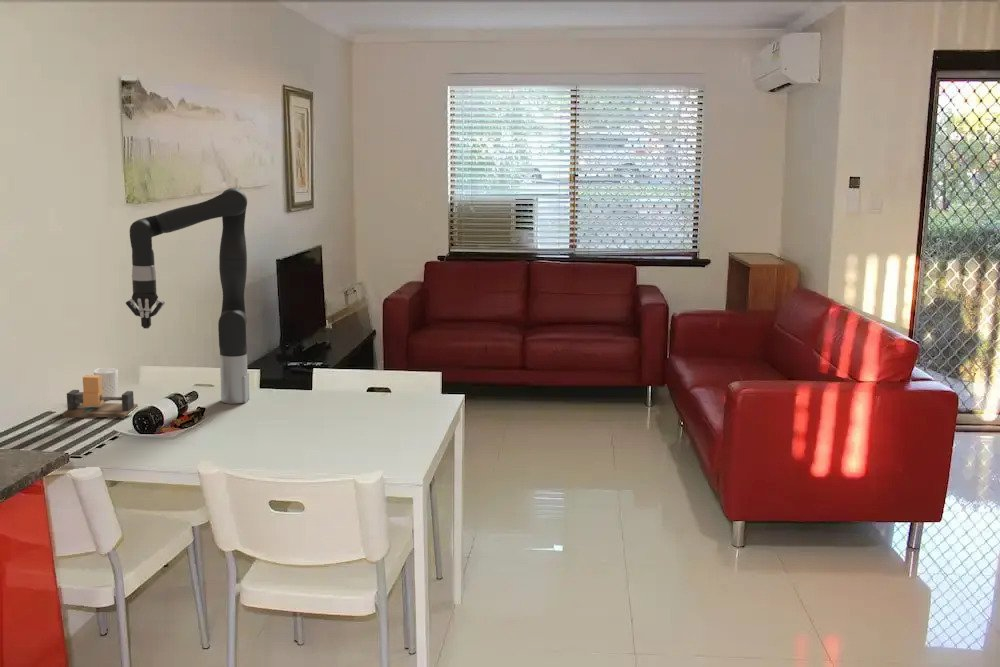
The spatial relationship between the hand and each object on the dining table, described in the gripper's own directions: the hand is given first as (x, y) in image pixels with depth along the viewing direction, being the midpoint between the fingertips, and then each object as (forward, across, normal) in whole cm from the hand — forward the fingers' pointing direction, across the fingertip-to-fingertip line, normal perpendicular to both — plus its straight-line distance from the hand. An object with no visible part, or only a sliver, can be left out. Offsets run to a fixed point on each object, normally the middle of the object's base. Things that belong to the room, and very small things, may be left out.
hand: (146, 328), depth 310 cm
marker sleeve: (+24, +14, +12) cm, 31 cm away
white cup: (+27, +17, -6) cm, 33 cm away
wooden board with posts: (+27, +12, +12) cm, 32 cm away
